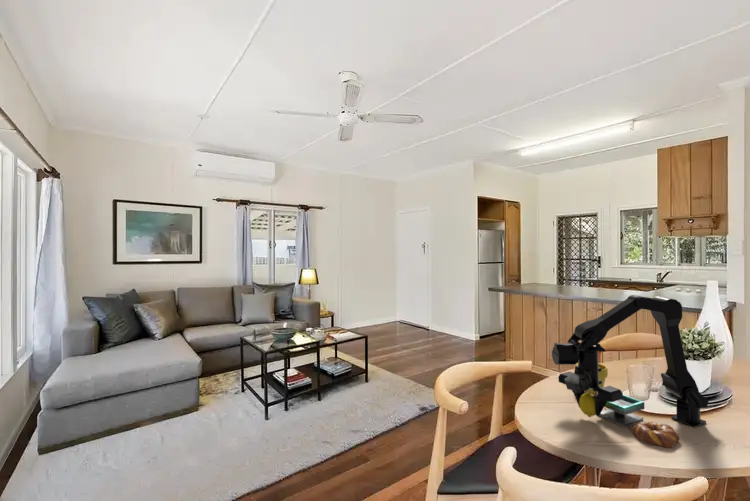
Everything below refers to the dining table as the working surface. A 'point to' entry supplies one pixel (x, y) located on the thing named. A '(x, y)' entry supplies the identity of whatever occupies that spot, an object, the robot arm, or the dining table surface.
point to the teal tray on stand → (623, 411)
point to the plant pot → (600, 377)
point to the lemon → (587, 404)
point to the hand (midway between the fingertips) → (589, 411)
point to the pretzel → (656, 434)
